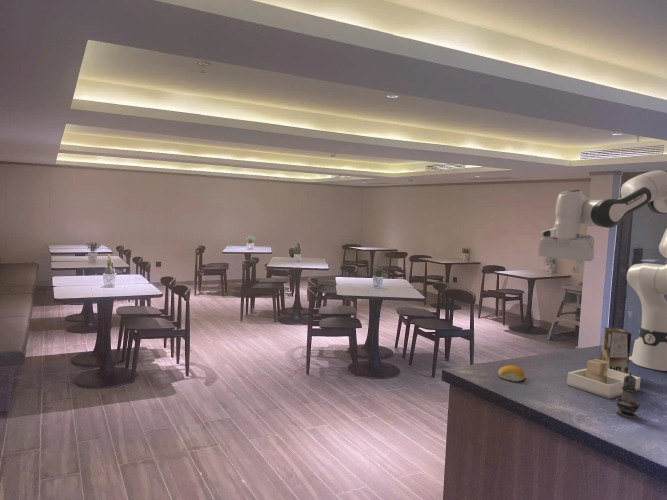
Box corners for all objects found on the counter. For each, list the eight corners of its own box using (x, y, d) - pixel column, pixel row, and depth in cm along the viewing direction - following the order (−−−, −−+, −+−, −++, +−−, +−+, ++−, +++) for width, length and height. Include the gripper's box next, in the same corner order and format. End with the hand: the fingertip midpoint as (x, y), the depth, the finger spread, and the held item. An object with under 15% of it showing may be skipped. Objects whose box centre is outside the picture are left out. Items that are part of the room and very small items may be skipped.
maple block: (593, 382, 159) (595, 358, 158) (606, 386, 155) (608, 362, 155) (585, 385, 156) (587, 360, 155) (597, 389, 153) (599, 364, 152)
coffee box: (627, 379, 167) (632, 333, 166) (607, 377, 169) (611, 331, 168) (618, 371, 176) (622, 328, 175) (598, 369, 178) (602, 326, 176)
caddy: (597, 377, 169) (598, 365, 168) (639, 389, 157) (640, 377, 157) (566, 384, 159) (567, 372, 158) (608, 398, 147) (610, 385, 147)
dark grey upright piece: (644, 418, 133) (648, 375, 133) (628, 420, 131) (632, 376, 131) (624, 409, 139) (628, 368, 138) (609, 411, 137) (613, 369, 136)
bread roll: (524, 376, 166) (525, 364, 166) (523, 383, 158) (524, 371, 158) (498, 371, 169) (499, 360, 169) (496, 379, 161) (497, 367, 161)
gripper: (599, 235, 172) (595, 274, 173) (547, 232, 189) (544, 267, 190) (589, 235, 169) (586, 274, 170) (537, 232, 186) (534, 267, 187)
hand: (563, 270), depth 180 cm, fingers open, 8 cm apart
